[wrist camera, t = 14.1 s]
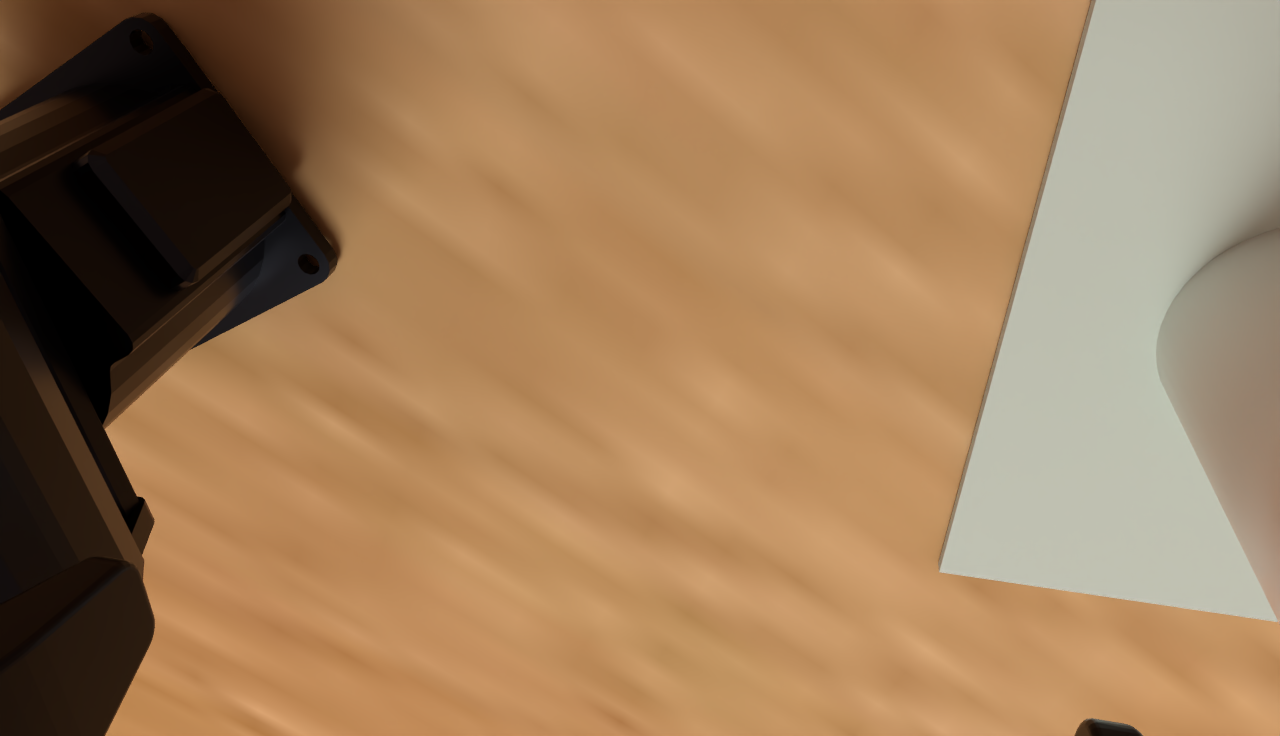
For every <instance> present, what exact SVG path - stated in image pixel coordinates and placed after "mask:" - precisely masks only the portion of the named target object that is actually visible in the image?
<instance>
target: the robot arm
mask: <svg viewBox="0 0 1280 736" xmlns="http://www.w3.org/2000/svg"><path fill="white" fill-rule="evenodd" d="M141 30H142V31H145V32H146V33H147V34H148V35H149V36H150V37H151V40H152V42H153V49H151V48H149V47H148V46H147V45H146V44H145V43H144V41H143V39H142V37H141ZM306 254H309V255H312V256H313V257H314V258H315V259H317V261H318V263H319V267H317V266H314V265H312V264H311V263H310V262H309V261H308V259H307V257H306ZM336 266H337V256H336V254H335V252H334V250H333V248H332V247H331V245H330V244H329V243H328V241H327V240H326V239H325V237H324V236H323V234H322V233H321V232H320V230H319V229H318V228H317V226H316V225H315V224H314V222H313V221H312V220H311V218H310V217H309V215H308V214H307V213H306V211H305V210H304V209H303V207H302V206H301V205H300V203H299V202H298V200H297V199H296V198H295V196H294V195H293V194H292V192H291V189H290V187H289V186H288V185H287V183H286V182H285V180H284V179H283V178H282V176H281V175H280V174H279V172H278V171H277V170H276V168H275V167H274V166H273V164H272V163H271V161H270V160H269V159H268V157H267V156H266V155H265V153H264V152H263V151H262V149H261V148H260V146H259V145H258V144H257V142H256V141H255V140H254V138H253V137H252V136H251V134H250V133H249V132H248V130H247V129H246V127H245V126H244V125H243V123H242V122H241V121H240V119H239V118H238V117H237V115H236V114H235V112H234V111H233V110H232V108H231V107H230V106H229V104H228V103H227V102H226V100H225V99H224V98H223V96H222V95H221V94H220V93H218V92H217V90H216V89H215V88H214V86H213V85H212V84H211V82H210V81H209V80H208V78H207V77H206V75H205V74H204V73H203V71H202V70H201V69H200V67H199V66H198V65H197V63H196V62H195V61H194V59H193V58H192V56H191V55H190V54H189V52H188V51H187V50H186V48H185V47H184V46H183V44H182V43H181V42H180V40H179V39H178V37H177V36H176V35H175V33H174V32H173V31H172V29H171V28H170V27H169V25H168V24H167V23H166V22H165V21H164V20H163V19H162V18H160V17H158V16H156V15H154V14H152V13H141V14H138V15H136V16H133V17H130V18H128V19H125V20H124V21H122V22H121V23H119V24H118V25H117V26H115V27H114V28H113V29H111V30H110V31H108V32H107V33H106V34H104V35H103V36H102V37H100V38H99V39H97V40H96V41H95V42H93V43H92V44H91V45H89V46H88V47H86V48H85V49H84V50H82V51H81V52H80V53H78V54H77V55H75V56H74V57H73V58H71V59H70V60H69V61H67V62H66V63H64V64H63V65H62V66H60V67H59V68H58V69H56V70H55V71H53V72H52V73H51V74H49V75H48V76H47V77H45V78H44V79H43V80H41V81H40V82H38V83H37V84H36V85H34V86H33V87H32V88H30V89H29V90H27V91H26V92H25V93H23V94H22V95H21V96H19V97H18V98H16V99H15V100H14V101H12V102H11V103H10V104H8V105H7V106H5V107H4V108H3V109H1V110H0V736H105V735H106V733H107V731H108V729H109V727H110V725H111V723H112V721H113V719H114V717H115V715H116V713H117V711H118V709H119V707H120V705H121V703H122V701H123V699H124V697H125V695H126V693H127V690H128V688H129V686H130V684H131V682H132V680H133V678H134V676H135V674H136V672H137V670H138V668H139V666H140V664H141V662H142V660H143V658H144V656H145V654H146V652H147V650H148V648H149V646H150V644H151V641H152V638H153V635H154V628H155V619H154V615H153V611H152V608H151V605H150V602H149V599H148V596H147V592H146V589H145V586H144V583H143V570H144V559H143V557H142V554H143V551H144V548H145V546H146V543H147V541H148V538H149V535H150V533H151V530H152V528H153V525H154V518H153V516H152V514H151V512H150V510H149V508H148V506H147V503H146V501H145V499H143V498H142V497H137V496H136V494H135V492H134V490H133V488H132V485H131V483H130V481H129V479H128V477H127V475H126V473H125V471H124V469H123V467H122V465H121V463H120V461H119V459H118V456H117V454H116V452H115V450H114V448H113V446H112V444H111V442H110V440H109V438H108V436H107V434H106V432H105V430H104V429H105V428H106V427H108V426H109V425H110V424H111V423H112V422H113V421H114V420H115V419H116V418H117V417H118V416H119V415H120V414H121V413H123V412H124V411H125V410H126V409H127V408H128V407H129V406H130V405H131V404H132V403H133V402H134V401H135V400H137V399H138V398H139V397H140V396H141V395H142V394H143V393H144V392H145V391H146V390H147V389H148V388H149V387H150V386H152V385H153V384H154V383H155V382H156V381H157V380H158V379H159V378H160V377H161V376H162V375H163V374H164V373H165V372H167V371H168V370H169V369H170V368H171V367H172V366H173V365H174V364H175V363H176V362H177V361H178V360H179V359H181V358H182V357H183V356H184V355H185V354H186V353H187V352H188V351H189V350H191V349H193V348H195V347H197V346H199V345H201V344H203V343H204V342H206V341H208V340H210V339H212V338H214V337H216V336H218V335H220V334H222V333H224V332H226V331H228V330H230V329H232V328H234V327H236V326H238V325H240V324H242V323H244V322H246V321H248V320H250V319H251V318H253V317H255V316H257V315H259V314H261V313H263V312H265V311H267V310H269V309H271V308H273V307H275V306H277V305H279V304H281V303H283V302H285V301H287V300H289V299H291V298H293V297H295V296H297V295H298V294H300V293H302V292H304V291H306V290H308V289H310V288H312V287H314V286H316V285H318V284H320V283H322V282H323V281H324V280H326V279H327V278H328V277H329V276H330V275H331V274H332V273H333V271H334V270H335V268H336ZM1075 736H1143V735H1142V734H1141V733H1140V732H1139V731H1138V730H1136V729H1135V728H1134V727H1132V726H1130V725H1127V724H1123V723H1117V722H1111V721H1105V720H1099V719H1093V718H1092V719H1086V720H1084V721H1083V722H1082V723H1081V724H1080V726H1079V727H1078V729H1077V731H1076V734H1075Z"/></svg>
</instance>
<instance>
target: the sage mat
mask: <svg viewBox="0 0 1280 736" xmlns="http://www.w3.org/2000/svg"><path fill="white" fill-rule="evenodd" d="M1277 228H1280V0H1091V4H1090V8H1089V11H1088V15H1087V19H1086V22H1085V26H1084V30H1083V33H1082V37H1081V41H1080V44H1079V48H1078V52H1077V55H1076V59H1075V63H1074V66H1073V70H1072V74H1071V77H1070V81H1069V85H1068V88H1067V92H1066V96H1065V99H1064V103H1063V107H1062V111H1061V114H1060V118H1059V122H1058V125H1057V129H1056V133H1055V136H1054V140H1053V144H1052V147H1051V151H1050V155H1049V158H1048V162H1047V166H1046V169H1045V173H1044V177H1043V180H1042V184H1041V188H1040V191H1039V195H1038V199H1037V202H1036V206H1035V210H1034V213H1033V217H1032V221H1031V225H1030V228H1029V232H1028V236H1027V239H1026V243H1025V247H1024V250H1023V254H1022V258H1021V261H1020V265H1019V269H1018V272H1017V276H1016V280H1015V283H1014V287H1013V291H1012V294H1011V298H1010V302H1009V305H1008V309H1007V313H1006V316H1005V320H1004V324H1003V328H1002V331H1001V335H1000V339H999V342H998V346H997V350H996V353H995V357H994V361H993V364H992V368H991V372H990V375H989V379H988V383H987V386H986V390H985V394H984V397H983V401H982V405H981V408H980V412H979V416H978V419H977V423H976V427H975V431H974V434H973V438H972V442H971V445H970V449H969V453H968V456H967V460H966V464H965V467H964V471H963V475H962V478H961V482H960V486H959V489H958V493H957V497H956V500H955V504H954V508H953V511H952V515H951V519H950V522H949V526H948V530H947V533H946V537H945V541H944V545H943V548H942V552H941V556H940V559H939V563H938V565H939V572H942V573H949V574H956V575H962V576H969V577H976V578H983V579H990V580H996V581H1003V582H1010V583H1017V584H1023V585H1030V586H1037V587H1044V588H1051V589H1057V590H1064V591H1071V592H1078V593H1085V594H1091V595H1098V596H1105V597H1112V598H1119V599H1125V600H1132V601H1139V602H1146V603H1153V604H1159V605H1166V606H1173V607H1180V608H1186V609H1193V610H1200V611H1207V612H1214V613H1220V614H1227V615H1234V616H1241V617H1248V618H1254V619H1261V620H1268V621H1275V622H1278V620H1277V618H1276V616H1275V614H1274V612H1273V610H1272V608H1271V606H1270V604H1269V602H1268V600H1267V598H1266V596H1265V594H1264V592H1263V590H1262V587H1261V585H1260V583H1259V581H1258V579H1257V577H1256V575H1255V573H1254V571H1253V569H1252V567H1251V565H1250V563H1249V561H1248V559H1247V557H1246V555H1245V553H1244V551H1243V549H1242V547H1241V545H1240V543H1239V541H1238V539H1237V536H1236V534H1235V532H1234V530H1233V528H1232V526H1231V524H1230V522H1229V520H1228V518H1227V516H1226V514H1225V512H1224V510H1223V508H1222V506H1221V504H1220V502H1219V500H1218V498H1217V496H1216V494H1215V492H1214V490H1213V487H1212V485H1211V483H1210V481H1209V479H1208V477H1207V475H1206V473H1205V471H1204V469H1203V467H1202V465H1201V463H1200V461H1199V459H1198V457H1197V455H1196V453H1195V451H1194V449H1193V447H1192V445H1191V443H1190V441H1189V438H1188V436H1187V434H1186V432H1185V430H1184V428H1183V426H1182V424H1181V422H1180V420H1179V418H1178V416H1177V414H1176V412H1175V410H1174V408H1173V406H1172V404H1171V402H1170V400H1169V398H1168V396H1167V394H1166V391H1165V389H1164V387H1163V385H1162V383H1161V381H1160V377H1159V374H1158V370H1157V363H1156V346H1157V338H1158V334H1159V330H1160V326H1161V324H1162V321H1163V319H1164V317H1165V314H1166V312H1167V310H1168V309H1169V307H1170V305H1171V303H1172V302H1173V300H1174V298H1175V297H1176V296H1177V294H1178V293H1179V292H1180V290H1181V289H1182V288H1183V287H1184V285H1185V284H1186V283H1187V282H1188V281H1189V280H1190V279H1191V278H1192V277H1193V276H1194V275H1195V274H1196V273H1197V272H1198V271H1199V270H1200V269H1202V268H1203V267H1204V266H1205V265H1206V264H1208V263H1209V262H1210V261H1211V260H1213V259H1214V258H1216V257H1217V256H1219V255H1220V254H1222V253H1223V252H1225V251H1226V250H1228V249H1230V248H1232V247H1233V246H1235V245H1237V244H1239V243H1241V242H1243V241H1245V240H1247V239H1250V238H1252V237H1254V236H1257V235H1259V234H1262V233H1264V232H1268V231H1271V230H1274V229H1277Z"/></svg>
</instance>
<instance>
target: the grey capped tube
mask: <svg viewBox="0 0 1280 736" xmlns="http://www.w3.org/2000/svg"><path fill="white" fill-rule="evenodd" d="M1156 363H1157V370H1158V374H1159V377H1160V381H1161V383H1162V385H1163V387H1164V389H1165V391H1166V394H1167V396H1168V398H1169V400H1170V402H1171V404H1172V406H1173V408H1174V410H1175V412H1176V414H1177V416H1178V418H1179V420H1180V422H1181V424H1182V426H1183V428H1184V430H1185V432H1186V434H1187V436H1188V438H1189V441H1190V443H1191V445H1192V447H1193V449H1194V451H1195V453H1196V455H1197V457H1198V459H1199V461H1200V463H1201V465H1202V467H1203V469H1204V471H1205V473H1206V475H1207V477H1208V479H1209V481H1210V483H1211V485H1212V487H1213V490H1214V492H1215V494H1216V496H1217V498H1218V500H1219V502H1220V504H1221V506H1222V508H1223V510H1224V512H1225V514H1226V516H1227V518H1228V520H1229V522H1230V524H1231V526H1232V528H1233V530H1234V532H1235V534H1236V536H1237V539H1238V541H1239V543H1240V545H1241V547H1242V549H1243V551H1244V553H1245V555H1246V557H1247V559H1248V561H1249V563H1250V565H1251V567H1252V569H1253V571H1254V573H1255V575H1256V577H1257V579H1258V581H1259V583H1260V585H1261V587H1262V590H1263V592H1264V594H1265V596H1266V598H1267V600H1268V602H1269V604H1270V606H1271V608H1272V610H1273V612H1274V614H1275V616H1276V618H1277V620H1278V622H1279V624H1280V228H1277V229H1274V230H1271V231H1268V232H1264V233H1262V234H1259V235H1257V236H1254V237H1252V238H1250V239H1247V240H1245V241H1243V242H1241V243H1239V244H1237V245H1235V246H1233V247H1232V248H1230V249H1228V250H1226V251H1225V252H1223V253H1222V254H1220V255H1219V256H1217V257H1216V258H1214V259H1213V260H1211V261H1210V262H1209V263H1208V264H1206V265H1205V266H1204V267H1203V268H1202V269H1200V270H1199V271H1198V272H1197V273H1196V274H1195V275H1194V276H1193V277H1192V278H1191V279H1190V280H1189V281H1188V282H1187V283H1186V284H1185V285H1184V287H1183V288H1182V289H1181V290H1180V292H1179V293H1178V294H1177V296H1176V297H1175V298H1174V300H1173V302H1172V303H1171V305H1170V307H1169V309H1168V310H1167V312H1166V314H1165V317H1164V319H1163V321H1162V324H1161V326H1160V330H1159V334H1158V338H1157V346H1156Z"/></svg>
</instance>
